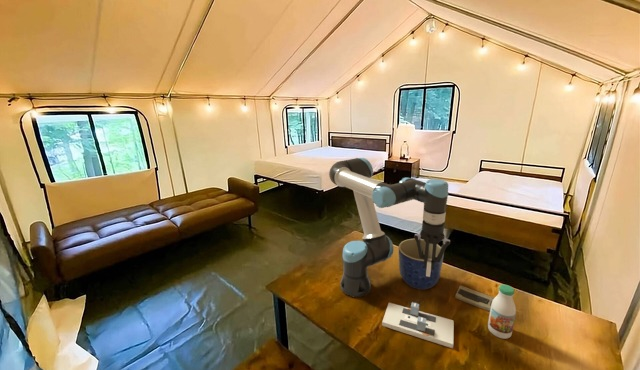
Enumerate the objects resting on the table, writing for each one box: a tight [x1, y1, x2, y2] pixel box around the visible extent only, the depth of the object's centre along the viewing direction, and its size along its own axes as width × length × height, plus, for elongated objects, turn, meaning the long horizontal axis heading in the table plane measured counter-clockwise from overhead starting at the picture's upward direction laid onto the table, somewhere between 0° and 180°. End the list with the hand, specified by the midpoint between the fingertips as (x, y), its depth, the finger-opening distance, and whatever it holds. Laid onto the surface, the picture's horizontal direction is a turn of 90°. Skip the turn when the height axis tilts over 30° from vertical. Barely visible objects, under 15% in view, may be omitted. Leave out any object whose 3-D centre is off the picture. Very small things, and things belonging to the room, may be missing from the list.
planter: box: [397, 238, 445, 290], centre depth 129 cm, size 21×21×19 cm
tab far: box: [410, 301, 420, 316], centre depth 109 cm, size 3×2×4 cm
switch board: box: [381, 302, 455, 349], centre depth 106 cm, size 26×12×2 cm, turn 63°
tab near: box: [417, 316, 426, 332], centre depth 101 cm, size 3×2×4 cm
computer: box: [454, 285, 495, 313], centre depth 117 cm, size 16×8×3 cm, turn 48°
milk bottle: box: [487, 284, 517, 340], centre depth 99 cm, size 8×8×20 cm
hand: (428, 274), depth 104 cm, fingers closed
